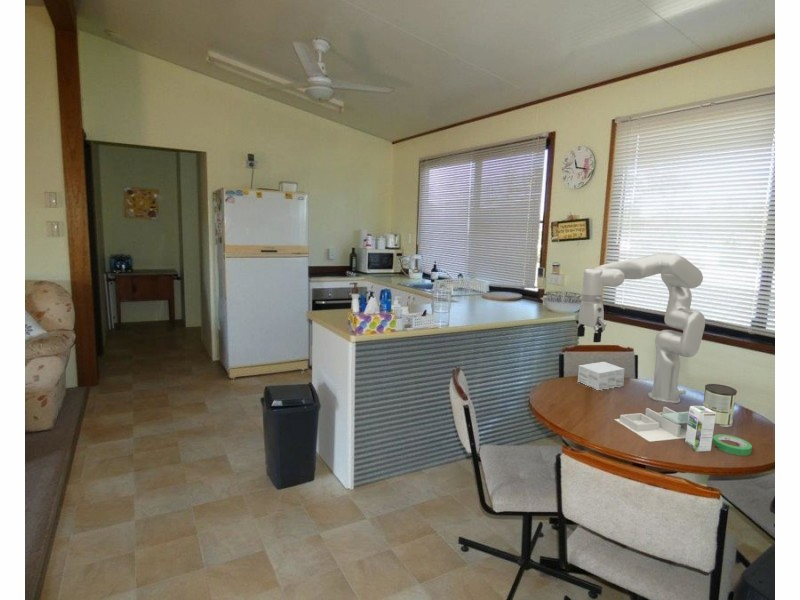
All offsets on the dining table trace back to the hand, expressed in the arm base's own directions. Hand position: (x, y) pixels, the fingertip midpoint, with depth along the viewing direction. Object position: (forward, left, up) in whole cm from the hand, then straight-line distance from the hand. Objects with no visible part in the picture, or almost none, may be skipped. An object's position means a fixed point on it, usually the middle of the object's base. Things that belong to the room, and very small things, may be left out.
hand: (588, 339), depth 185 cm
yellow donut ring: (-21, +21, -29) cm, 42 cm away
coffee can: (-45, +22, -31) cm, 59 cm away
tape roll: (-31, +41, -31) cm, 60 cm away
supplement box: (-26, -25, -31) cm, 48 cm away
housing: (-15, +24, -30) cm, 41 cm away
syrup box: (-19, +39, -31) cm, 53 cm away
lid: (-21, +27, -25) cm, 43 cm away
